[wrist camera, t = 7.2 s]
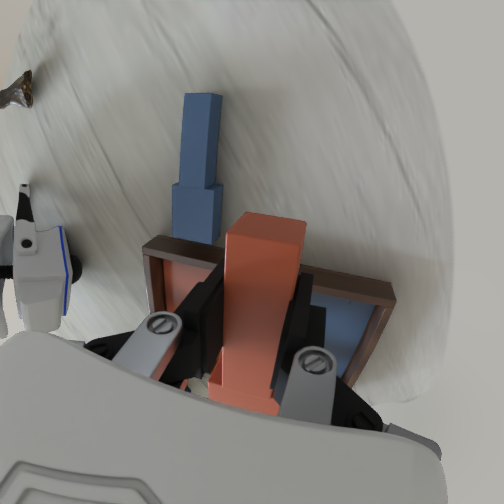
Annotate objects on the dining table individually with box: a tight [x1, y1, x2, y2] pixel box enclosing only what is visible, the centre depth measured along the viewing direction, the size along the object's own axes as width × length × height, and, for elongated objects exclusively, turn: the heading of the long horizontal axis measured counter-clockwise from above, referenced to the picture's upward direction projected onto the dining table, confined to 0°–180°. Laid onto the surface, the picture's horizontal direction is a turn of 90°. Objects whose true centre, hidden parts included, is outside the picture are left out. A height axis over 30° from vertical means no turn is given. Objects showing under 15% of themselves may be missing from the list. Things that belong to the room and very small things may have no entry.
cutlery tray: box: [142, 235, 397, 389], centre depth 28 cm, size 17×24×3 cm
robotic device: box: [0, 184, 82, 339], centre depth 28 cm, size 10×21×20 cm
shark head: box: [0, 70, 33, 109], centre depth 22 cm, size 8×6×7 cm
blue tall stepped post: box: [172, 93, 223, 245], centre depth 23 cm, size 13×4×2 cm, turn 174°
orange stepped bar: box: [208, 212, 307, 416], centre depth 12 cm, size 13×4×2 cm, turn 175°
